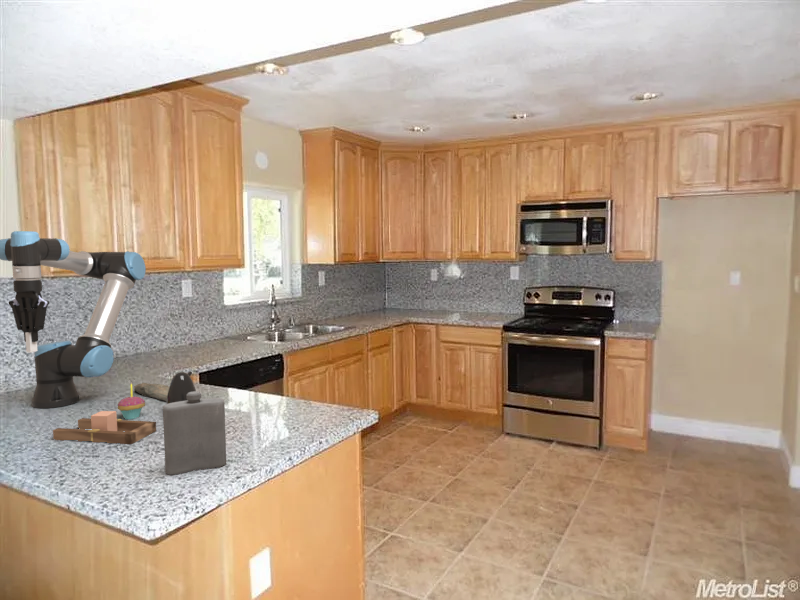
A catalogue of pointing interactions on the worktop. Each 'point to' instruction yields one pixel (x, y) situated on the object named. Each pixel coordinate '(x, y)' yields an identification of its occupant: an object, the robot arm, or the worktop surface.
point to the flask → (194, 434)
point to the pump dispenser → (180, 387)
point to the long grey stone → (153, 390)
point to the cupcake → (131, 406)
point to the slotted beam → (107, 432)
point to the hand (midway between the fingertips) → (32, 351)
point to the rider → (104, 421)
